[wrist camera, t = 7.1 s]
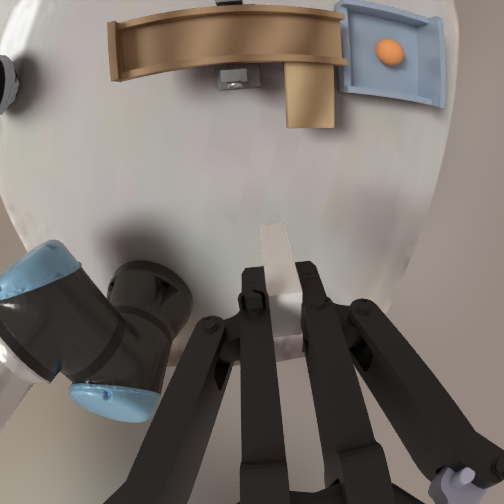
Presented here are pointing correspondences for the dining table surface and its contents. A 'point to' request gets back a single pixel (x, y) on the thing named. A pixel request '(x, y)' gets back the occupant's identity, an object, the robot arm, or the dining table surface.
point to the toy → (7, 83)
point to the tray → (386, 76)
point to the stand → (237, 66)
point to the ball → (389, 52)
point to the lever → (239, 49)
